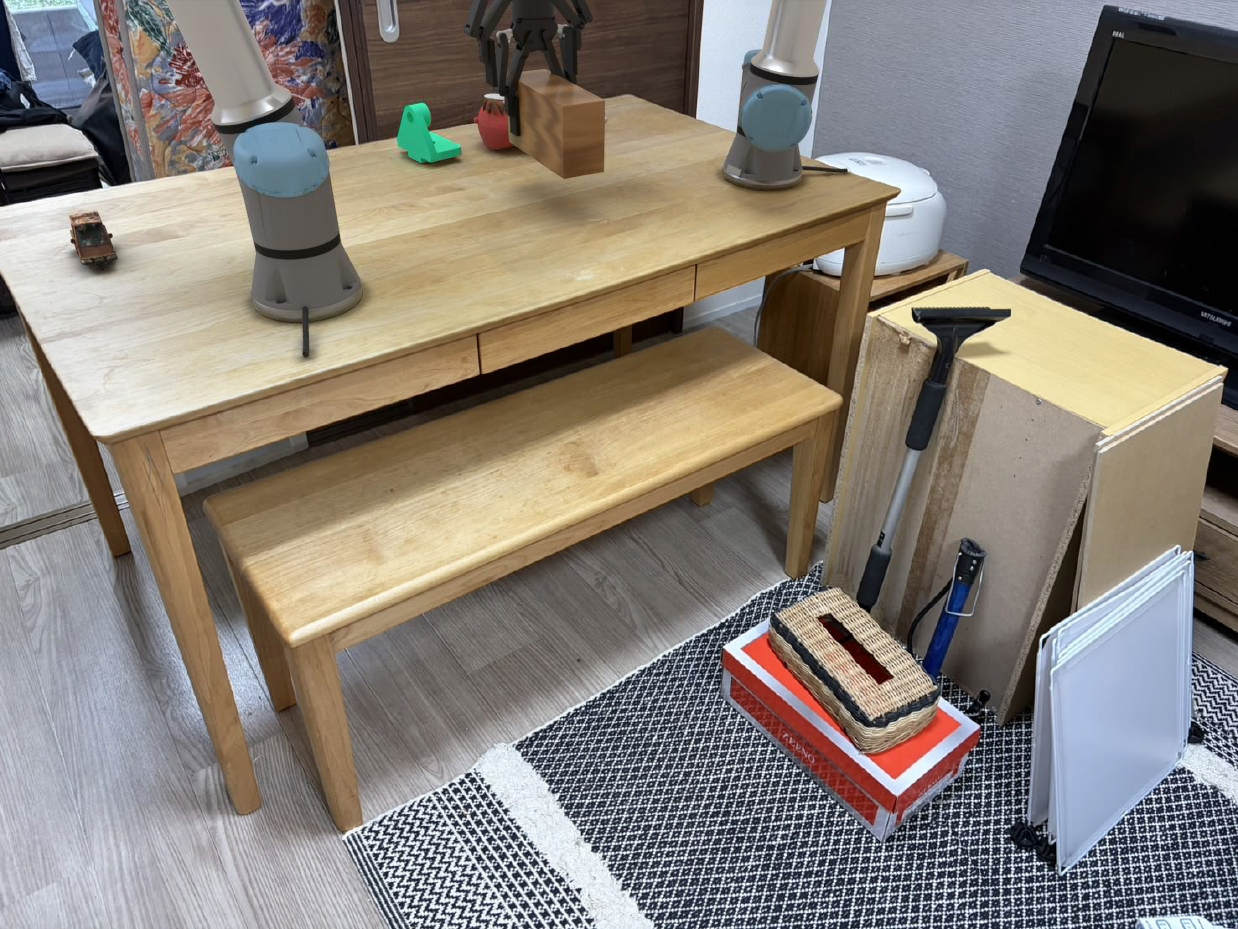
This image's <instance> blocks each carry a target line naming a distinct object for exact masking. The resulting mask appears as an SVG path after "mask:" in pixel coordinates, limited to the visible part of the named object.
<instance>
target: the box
mask: <svg viewBox="0 0 1238 929" xmlns="http://www.w3.org/2000/svg"><path fill="white" fill-rule="evenodd" d="M507 75H508V72H507ZM515 96H517V97H518V98H519V110H520V135H521V136H515V135H514V134H512V133H511V132H510V117H509V116H508V129H509V142H510V143H512V144H513V145H514V147H516V148H518V149H519V150H521V151H522V152H523V153H525V154H526V155H527V156H530V157H531V159H534V160H535V161H536V162H538V163H539V164H541V165H542V166H544V167H545V168H547V170H550V171H551V172H553V173H554V174H555V175H557V176H558V177H560V178H561V179H563V180H568V179H573V178H579V177H583V176H589V175H595V174H602V173H605V136H606V123H605V116H606V100H605V99H603V98H602V97H600V96H598V95H596V94H595V93H594V94H593V93H592V92H590V91H589V90H587V89H585V88H582V87H581V86H579V85H577V84H576V85H575V84H573V83H571V82H569V81H567V80H566V79H564V78H562V77H560V76H557V75H555V74H553V73H551V72H550V69H549V70H548V69H546V68H541V69H533V70H525V71H522V74H521V77H520V80H519V81H518V87H517V90H516V93H515Z"/></svg>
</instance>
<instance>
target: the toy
mask: <svg viewBox="0 0 1238 929" xmlns="http://www.w3.org/2000/svg"><path fill="white" fill-rule="evenodd" d="M608 121H609V119H608V117H607V116H606V115H605V124H607V123H608ZM473 122H474V123H475V124H477V129H478V133H479V135H480V138H481V140H482V142H483V144H484V145H485V146H486V148H488V149H490V150H502V149H508V148H510V147H515V145H513V144H512V143H510V142H509V129H508V115H506V113H505V104H504V96H503V95H499V94H498V93H487V94H484V99H483V101H482V106H481V107H480V109H479V112H478V115H477V116H475V117H473Z"/></svg>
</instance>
